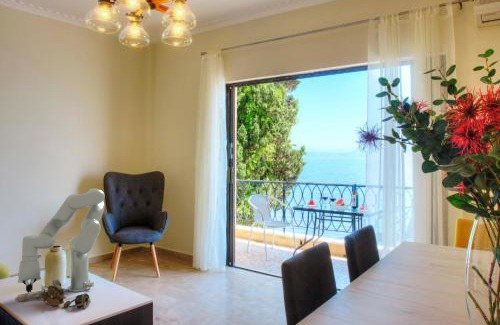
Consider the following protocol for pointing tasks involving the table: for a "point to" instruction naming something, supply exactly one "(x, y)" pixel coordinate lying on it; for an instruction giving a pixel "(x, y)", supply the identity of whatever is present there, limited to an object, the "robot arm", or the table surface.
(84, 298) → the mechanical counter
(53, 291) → the wooden carving
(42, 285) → the plunger
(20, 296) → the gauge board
